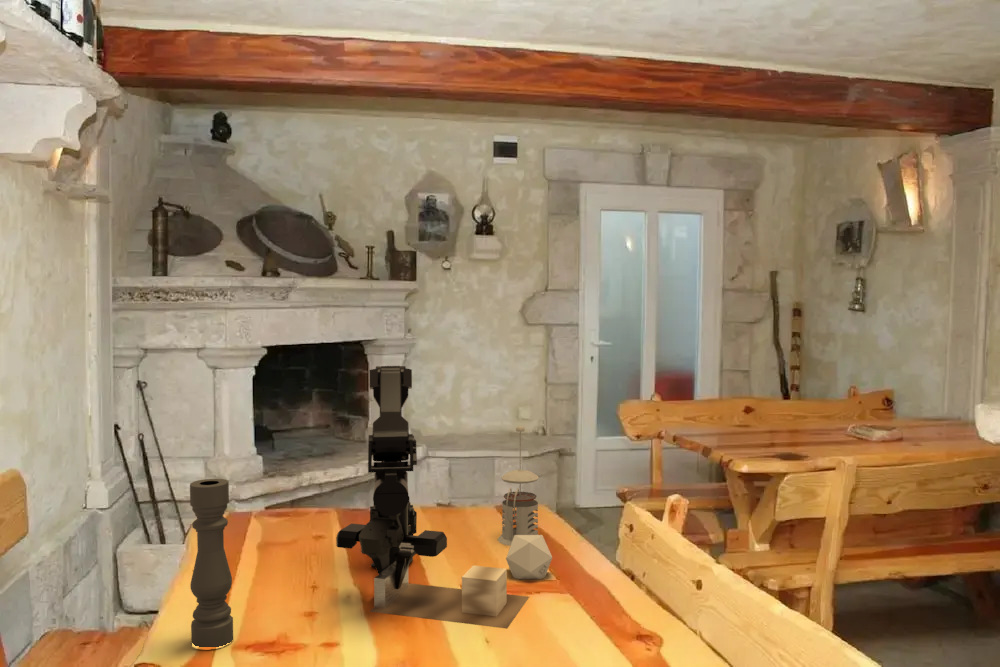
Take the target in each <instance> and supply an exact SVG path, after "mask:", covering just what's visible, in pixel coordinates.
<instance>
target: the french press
mask: <svg viewBox="0 0 1000 667" xmlns="http://www.w3.org/2000/svg"><path fill="white" fill-rule="evenodd" d="M515 431H516V432H517V433H518V432H519V468H518V469H514V470H511V471H507V472H506V473H505V474H503V475H502V476H501V480H502V481H503V482H505V483H509V484H519V488H516V490H515V491H512V487H510V488H509V489H508V492H506V493H504V494H503V498H504V499H505V500H502V502H501V507H502V510H501V514H502V516H501V517H502V518H501V520H502V522H501V526H502V527H501V530H502V531H501V532H502V534H500V535H499V537H498V538H497V541H498V543H499V544H502V545H504V546H509V547H510V546H511V544H512V541H513V538H514V535H539V533H538V532H539V530H538V529H539V525H538V523H539V519H538V517H539V514H538V510H539V501H537V500H536V498H537V494H535V493H533V492H532V491H531V492H530V491H522V490H521V486H522V485H523V484H530V483H534V482H537V481H538V480H539V476H538V475H537V474H536V473H534V472H532V471H530V470H527V469H526V470H525V469H522V466H521V464H522V462H521V460H522V459H521V458H522V456H521V455H522V454H521V453H522V448H521V447H522V440H521V439H522V438H521V437H522V436H521V435H522V433H523V432H525V427H524V426H522V425H518V426H517V427H516V428H515ZM521 432H522V433H521ZM534 511H536V512H534ZM535 523H536V524H535ZM514 526H516V527H514Z"/></svg>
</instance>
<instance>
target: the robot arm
mask: <svg viewBox="0 0 1000 667" xmlns="http://www.w3.org/2000/svg"><path fill="white" fill-rule="evenodd" d="M368 374H369V379H368V380H369V381H368V382H369V386H368V387H369V390H372V391H373V399H374V401H375V402H376V404H377V406H378V407H379V416H378V417H377V418H376V420H374V421H373V423H372V434H368V441H367V442H368V448H367V449H368V452H367V454H368V455H367V456H368V457H367V472H368V473H374V474H373V475H374V476H373V477H374V480H373V481H374V484H373V485H374V486H373V494H372V495H373V496H372V501H373V505H370V506H369V521H368V522H367V523H366V524H364V523H363V524H362V523H361V524H359V523H349V524H348V525H346V526H345V527H343V528H342V529H340V530H339V531H337V534H336V540H335V541H336V542H335V543H336V547H337V548H340V549H342V548H343V549H350V550H351V549H353V548H354V547H355V546H356V545H357V543H358V542H359V545H360V552H361V554H362V555H366V556H367V557H369V558H370V560H371V561H372V563H371V564H370V568H375V570H376V571H377V575H379V574H380V573H381V572H382V571H384V570H385V569H386V568H387V567H389V566H390V565H391V564H393V563H394V562H395V561H396V578H395V583H396V589H399V588H400V587H401V584H402V582H403V579H404V577H405V574H406V571H407V569H408V570H409V566H410V564H411V562H413V560H414V556H415V555H417V556H421V557H432V558H433V557H437V556H438V555H439V554H440V553H441V554H442V552H443V551H444V550H446V549H447V547H448V537H447V536H446V534H445V533H444V531H438V530H426V529H425V530H423V532H421V533H420V534H418V535H414V534H417V523H418V522H417V514H418V513H417V511H416V510H415V508H414V505H413V504H411V502H410V495H409V485H408V484H409V483H408V482H409V481H408V480H409V479H408V477H409V476H408V475H409V474H408V472H414V466H417V464H418V462H417V461H418V460H417V459H418V458H417V456H418V455H417V454H418V453H417V440H416V439H415V436H414V435H413V433H409V431H410V430H409V421H408V420H406V419H405V417H403V416H402V414H403V410H402V409H403V407H404V405H405V403H406V402H407V400H408V399H409V390H410V389H411V390H412V389H413V369H410V368H406V365H381V366H380V365H377V366H375V368H373V369H369V372H368ZM372 461H373V462H372ZM408 461H409V462H408ZM372 463H373V464H372Z"/></svg>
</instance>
